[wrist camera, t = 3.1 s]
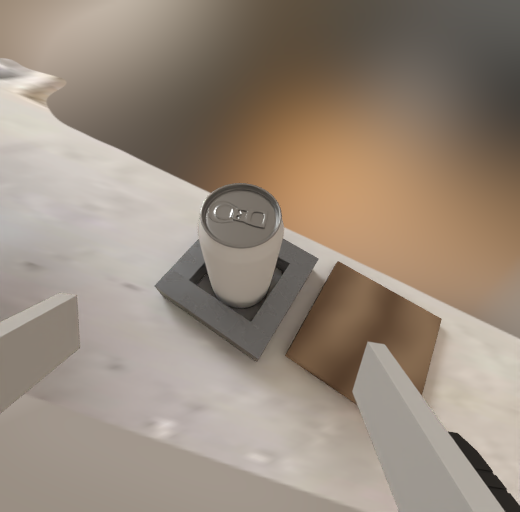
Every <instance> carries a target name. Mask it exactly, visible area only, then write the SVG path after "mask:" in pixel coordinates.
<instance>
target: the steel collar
mask: <svg viewBox="0 0 520 512" xmlns="http://www.w3.org/2000/svg"><path fill="white" fill-rule="evenodd" d="M317 261H318V258H316V257H315V256H313V255H311V254H309V253H308V252H306V251H304V250H302V249H300V248H299V247H297V246H295V245H293V244H292V243H290V242H288V241H286V240H285V239H282V244H281V248H280V251H279V255H278V259H277V262H276V266H275V267H276V268H278V269H279V270H281V271H283V272H284V273H283V275H282V276H281V278H280V279H279V281H278V282H277V284H276V285H275V287H274V288H273V290H272V291H271V293H270V294H269V296H268V297H267V299H266V300H265V302H264V303H263V305H262V306H261V308H260V309H259V311H258V312H257V314H256V315H255V317H254V318H253V320H252V321H251V322H250V321H249V320H247V319H246V318H244V317H243V316H241V315H240V314H238V313H237V312H235V311H234V310H232V309H231V308H229V307H228V306H226V305H225V304H224V303H222V302H221V301H219V300H218V299H216V298H215V297H213V296H212V295H210V294H209V293H207V292H206V291H204V290H203V289H201V288H200V287H198V286H197V284H198V283H199V282H200V281H201V279H202V278H203V277H204V276H205V275H206V274H207V268H206V264H205V260H204V257H203V253H202V249H201V245H200V241H199V239H198V240H197V241H196V242H195V244H194V245H193V246H192V247H191V248H190V249H189V250H188V251H187V252H186V253H185V254H184V255H183V256H182V257H181V258H180V259H179V260H178V262H177V263H176V264H175V265H174V266H173V267H172V268H171V269H170V270H169V271H168V272H167V273H166V274H165V275H164V276H163V277H162V278H161V280H160V281H159V282H158V283H157V284H156V285H155V287H156V288H157V290H158V291H159V292H160V293H161V295H163V296H164V297H165V298H167V299H168V300H170V301H171V302H173V303H174V304H175V305H177V306H178V307H180V308H181V309H182V310H184V311H185V312H187V313H188V314H189V315H191V316H192V317H194V318H195V319H197V320H198V321H199V322H201V323H202V324H204V325H205V326H206V327H208V328H209V329H211V330H212V331H213V332H215V333H216V334H218V335H219V336H221V337H222V338H223V339H225V340H226V341H228V342H229V343H230V344H232V345H233V346H235V347H236V348H237V349H239V350H240V351H242V352H243V353H245V354H246V355H247V356H249V357H250V358H252V359H253V360H254V361H256V362H257V361H258V359H259V357H260V356H261V354H262V352H263V351H264V349H265V347H266V346H267V344H268V342H269V341H270V339H271V337H272V336H273V334H274V332H275V331H276V329H277V327H278V326H279V324H280V322H281V321H282V319H283V317H284V316H285V314H286V312H287V311H288V309H289V307H290V306H291V304H292V302H293V301H294V299H295V297H296V296H297V294H298V292H299V291H300V289H301V287H302V286H303V284H304V283H305V281H306V279H307V278H308V276H309V274H310V273H311V271H312V269H313V268H314V266H315V264H316V262H317Z"/></svg>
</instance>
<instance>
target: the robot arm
mask: <svg viewBox="0 0 520 512" xmlns="http://www.w3.org/2000/svg"><path fill="white" fill-rule="evenodd" d="M79 348H80V340H79V322H78V305H77V295H72V294H66V293H58V294H56V295H54V296H52V297H50V298H48V299H46V300H44V301H42V302H40V303H38V304H36V305H34V306H32V307H30V308H28V309H26V310H24V311H22V312H20V313H18V314H15V315H13V316H11V317H9V318H7V319H5V320H3V321H1V322H0V413H2V412H3V411H4V410H5V409H6V408H8V407H9V406H10V405H11V404H12V403H14V402H15V401H16V400H17V399H18V398H20V397H21V396H22V395H23V394H25V393H26V392H27V391H28V390H29V389H31V388H32V387H33V386H34V385H35V384H37V383H38V382H39V381H40V380H42V379H43V378H44V377H45V376H46V375H48V374H49V373H50V372H51V371H52V370H54V369H55V368H56V367H57V366H58V365H60V364H61V363H62V362H63V361H65V360H66V359H67V358H68V357H69V356H71V355H72V354H73V353H74V352H75V351H77V350H78V349H79ZM352 392H353V395H354V398H355V400H356V403H357V405H358V408H359V410H360V413H361V415H362V418H363V420H364V423H365V426H366V428H367V431H368V433H369V436H370V438H371V441H372V443H373V446H374V449H375V451H376V454H377V456H378V459H379V461H380V464H381V466H382V469H383V471H384V474H385V477H386V479H387V482H388V484H389V487H390V489H391V492H392V494H393V497H394V500H395V502H396V505H397V507H398V510H399V512H520V505H519V504H518V503H517V502H516V500H515V499H514V498H513V496H512V495H511V494H510V493H507V490H506V488H505V486H504V485H503V484H502V482H501V481H500V480H499V479H498V477H497V476H496V475H494V474H493V471H492V470H491V468H490V467H489V466H488V464H487V463H486V462H485V461H484V459H483V458H482V457H481V455H480V454H479V453H478V452H477V450H475V449H474V448H473V447H472V446H471V445H470V444H469V443H468V442H467V441H466V440H464V439H463V438H462V437H461V436H460V435H459V434H458V433H453V432H447V430H446V429H445V427H444V426H443V425H442V423H441V422H440V420H439V419H438V418H437V416H436V415H435V413H434V412H433V411H432V409H431V408H430V407H429V405H428V404H427V402H426V401H425V400H424V398H423V397H422V395H421V394H420V393H419V391H418V390H417V388H416V387H415V386H414V384H413V383H412V382H411V380H410V379H409V377H408V376H407V375H406V373H405V372H404V370H403V369H402V368H401V366H400V365H399V363H398V362H397V361H396V359H395V358H394V357H393V355H392V354H391V352H390V351H389V350H388V348H387V347H386V345H385V344H380V343H373V342H367V345H366V348H365V352H364V355H363V358H362V361H361V365H360V368H359V371H358V374H357V378H356V381H355V384H354V387H353V391H352Z"/></svg>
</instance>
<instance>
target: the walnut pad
mask: <svg viewBox="0 0 520 512" xmlns="http://www.w3.org/2000/svg"><path fill="white" fill-rule="evenodd" d="M440 323H441V318H439V317H437V316H435V315H433V314H432V313H430V312H428V311H426V310H424V309H423V308H421V307H419V306H417V305H416V304H414V303H412V302H410V301H408V300H407V299H405V298H403V297H401V296H399V295H398V294H396V293H394V292H392V291H390V290H389V289H387V288H385V287H383V286H382V285H380V284H378V283H376V282H374V281H373V280H371V279H369V278H367V277H365V276H364V275H362V274H360V273H358V272H356V271H355V270H353V269H351V268H349V267H348V266H346V265H344V264H342V263H340V262H339V261H338V262H337V263H336V264H335V266H334V268H333V270H332V272H331V273H330V275H329V277H328V279H327V281H326V282H325V284H324V286H323V288H322V290H321V291H320V293H319V295H318V297H317V299H316V301H315V302H314V304H313V306H312V308H311V310H310V311H309V313H308V315H307V317H306V319H305V320H304V322H303V324H302V326H301V328H300V329H299V331H298V333H297V335H296V337H295V339H294V340H293V342H292V344H291V346H290V348H289V349H288V351H287V353H286V355H285V356H286V357H288V358H289V359H291V360H292V361H294V362H295V363H297V364H298V365H300V366H301V367H303V368H304V369H305V370H307V371H308V372H310V373H311V374H313V375H314V376H316V377H317V378H319V379H320V380H322V381H323V382H325V383H326V384H327V385H329V386H330V387H332V388H333V389H335V390H336V391H338V392H339V393H341V394H342V395H344V396H345V397H347V398H348V399H349V400H351V401H352V402H354V403H355V404H357V403H356V400H355V398H354V395H353V392H352V391H353V387H354V384H355V381H356V378H357V374H358V371H359V368H360V365H361V361H362V358H363V355H364V352H365V348H366V345H367V342H373V343H380V344H385V345H386V347H387V348H388V350H389V351H390V352H391V354H392V355H393V357H394V358H395V359H396V361H397V362H398V363H399V365H400V366H401V368H402V369H403V370H404V372H405V373H406V375H407V376H408V377H409V379H410V380H411V382H412V383H413V384H414V386H415V387H416V388H417V390H418V391H419V393H420V394H421V395H422V392H423V389H424V385H425V381H426V377H427V373H428V369H429V365H430V362H431V358H432V354H433V350H434V346H435V342H436V338H437V335H438V331H439V327H440Z"/></svg>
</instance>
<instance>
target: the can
mask: <svg viewBox="0 0 520 512" xmlns="http://www.w3.org/2000/svg"><path fill="white" fill-rule="evenodd" d="M283 234H284V225H283V221H282V215H281V209H280V206H279V204H278V202H277V200H276V199H275V198H274V197H273V196H272V195H271V194H270V193H269V192H267V191H266V190H264V189H262V188H260V187H258V186H255V185H251V184H245V183H235V184H229V185H225V186H223V187H220V188H218V189H217V190H215V191H213V192H212V193H211V194H210V195H209V196H208V197H207V198H206V199H205V201H204V202H203V204H202V207H201V211H200V218H199V222H198V237H199V241H200V245H201V249H202V253H203V257H204V260H205V264H206V268H207V272H208V275H209V279H210V282H211V286H212V289H213V291H214V293H215V295H216V297H217V298H218V299H219V300H220V301H221V302H223V303H224V304H226V305H228V306H230V307H234V308H247V307H251V306H253V305H255V304H257V303H259V302H260V301H261V300H262V299H263V298H264V297H265V295H266V294H267V292H268V290H269V287H270V284H271V280H272V277H273V273H274V270H275V266H276V262H277V259H278V255H279V251H280V248H281V244H282V239H283Z"/></svg>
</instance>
